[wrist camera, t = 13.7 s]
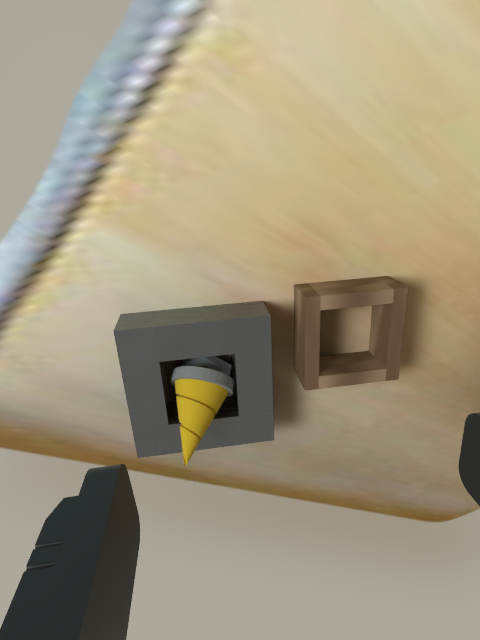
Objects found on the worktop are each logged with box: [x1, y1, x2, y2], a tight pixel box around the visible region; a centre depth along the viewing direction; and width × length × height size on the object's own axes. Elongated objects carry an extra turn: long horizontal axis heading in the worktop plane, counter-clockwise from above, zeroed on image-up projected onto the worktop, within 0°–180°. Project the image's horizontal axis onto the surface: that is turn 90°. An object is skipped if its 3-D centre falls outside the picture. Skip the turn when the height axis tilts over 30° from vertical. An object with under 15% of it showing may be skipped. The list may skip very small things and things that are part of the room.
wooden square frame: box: [294, 276, 408, 390], centre depth 34 cm, size 8×8×4 cm
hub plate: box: [114, 301, 274, 458], centre depth 34 cm, size 12×12×4 cm
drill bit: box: [170, 356, 234, 465], centre depth 33 cm, size 5×5×10 cm
